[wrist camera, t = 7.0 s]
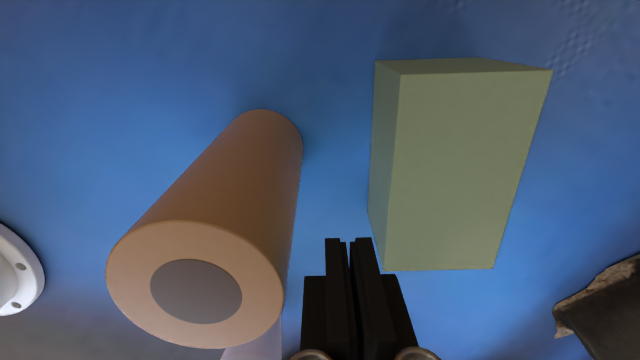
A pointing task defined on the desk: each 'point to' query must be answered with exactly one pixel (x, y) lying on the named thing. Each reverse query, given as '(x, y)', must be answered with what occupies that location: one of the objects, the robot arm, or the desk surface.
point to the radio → (606, 313)
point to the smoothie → (259, 346)
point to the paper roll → (216, 240)
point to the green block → (448, 157)
